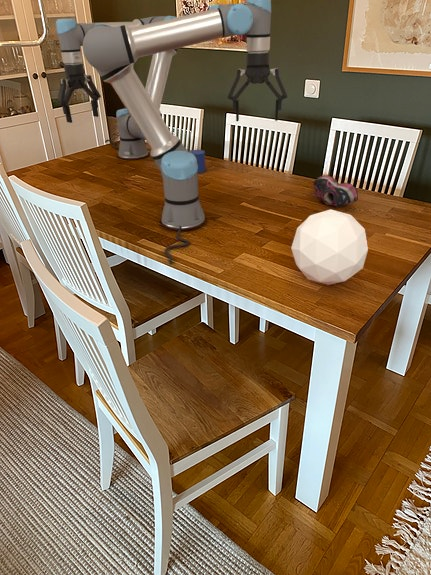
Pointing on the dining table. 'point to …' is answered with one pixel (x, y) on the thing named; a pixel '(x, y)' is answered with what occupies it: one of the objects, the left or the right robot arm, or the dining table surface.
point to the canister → (199, 159)
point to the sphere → (330, 247)
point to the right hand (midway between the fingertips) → (256, 120)
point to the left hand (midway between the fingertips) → (83, 119)
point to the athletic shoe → (334, 191)
